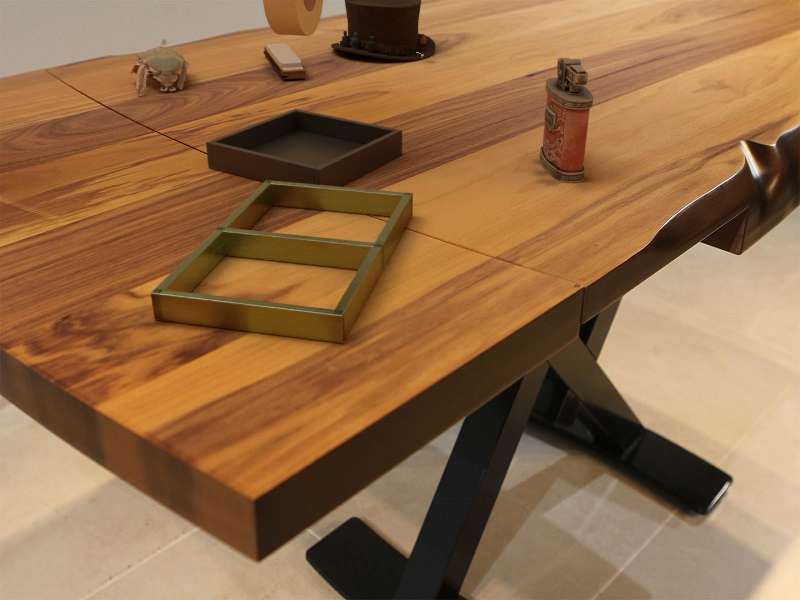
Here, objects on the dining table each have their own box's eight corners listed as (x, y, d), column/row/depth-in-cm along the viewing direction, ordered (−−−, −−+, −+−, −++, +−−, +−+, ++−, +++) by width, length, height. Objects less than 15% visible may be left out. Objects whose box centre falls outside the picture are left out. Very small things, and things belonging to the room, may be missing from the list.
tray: (208, 167, 80) (205, 142, 79) (296, 131, 90) (295, 108, 89) (320, 197, 74) (319, 169, 73) (402, 154, 84) (402, 130, 83)
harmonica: (263, 55, 120) (262, 41, 119) (285, 54, 121) (284, 40, 120) (282, 81, 108) (281, 65, 107) (306, 79, 109) (305, 64, 108)
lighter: (533, 153, 84) (541, 50, 80) (566, 152, 85) (577, 49, 80) (555, 183, 77) (565, 72, 73) (591, 181, 78) (604, 71, 73)
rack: (154, 320, 55) (150, 292, 55) (267, 201, 73) (265, 179, 72) (342, 343, 53) (342, 315, 52) (412, 215, 71) (413, 192, 70)
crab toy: (96, 82, 103) (100, 40, 101) (155, 78, 113) (159, 40, 111) (155, 102, 101) (160, 59, 99) (210, 96, 110) (215, 57, 108)
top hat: (379, 35, 133) (379, -37, 128) (456, 50, 124) (459, -27, 119) (309, 51, 123) (305, -26, 118) (387, 68, 114) (386, -14, 109)
